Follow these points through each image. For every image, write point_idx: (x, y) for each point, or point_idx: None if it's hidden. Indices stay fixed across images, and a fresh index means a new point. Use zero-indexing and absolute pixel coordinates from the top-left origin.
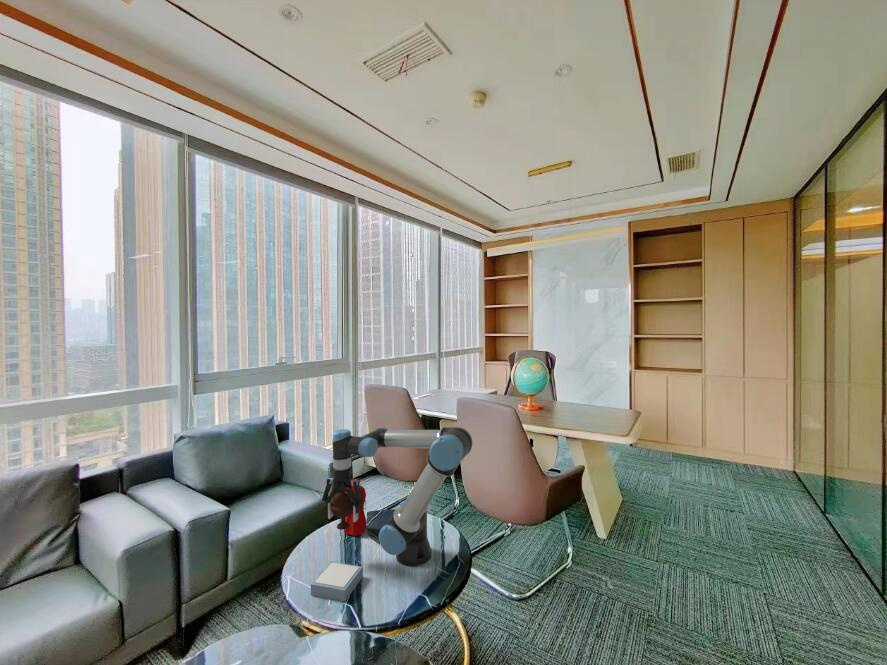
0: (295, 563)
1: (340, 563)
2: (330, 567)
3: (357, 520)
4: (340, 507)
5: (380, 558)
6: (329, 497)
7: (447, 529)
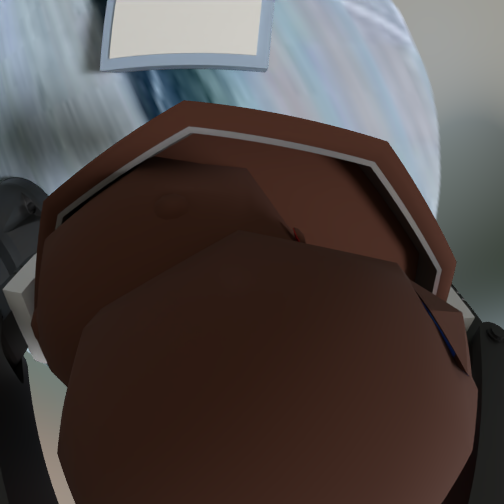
0: (429, 119)
1: (211, 62)
2: (244, 21)
3: None
4: (176, 188)
5: None
6: (501, 394)
7: None
